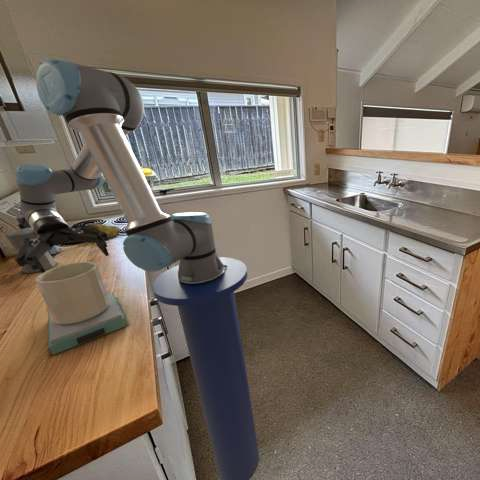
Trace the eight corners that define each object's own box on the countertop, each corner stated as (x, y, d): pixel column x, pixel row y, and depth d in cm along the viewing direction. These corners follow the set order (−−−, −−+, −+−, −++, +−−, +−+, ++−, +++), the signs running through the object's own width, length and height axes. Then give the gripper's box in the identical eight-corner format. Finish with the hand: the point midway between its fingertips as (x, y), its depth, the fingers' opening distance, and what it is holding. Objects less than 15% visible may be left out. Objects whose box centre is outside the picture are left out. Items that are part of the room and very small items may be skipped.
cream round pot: (107, 295, 74) (94, 258, 70) (113, 311, 67) (99, 270, 63) (54, 312, 67) (36, 271, 63) (55, 332, 60) (34, 287, 56)
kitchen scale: (115, 298, 79) (112, 289, 78) (127, 326, 66) (124, 316, 65) (51, 319, 70) (47, 309, 68) (52, 356, 57) (46, 345, 56)
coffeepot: (9, 274, 95) (-14, 228, 89) (34, 263, 104) (15, 220, 98) (53, 272, 96) (33, 226, 90) (73, 261, 105) (57, 219, 99)
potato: (123, 236, 134) (118, 222, 131) (91, 243, 126) (85, 227, 123) (120, 233, 140) (116, 219, 137) (90, 238, 131) (84, 224, 129)
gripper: (102, 224, 91) (130, 254, 83) (-3, 251, 73) (19, 293, 65) (95, 205, 87) (125, 235, 78) (-18, 230, 69) (4, 272, 61)
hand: (77, 262), depth 72 cm, fingers open, 13 cm apart
